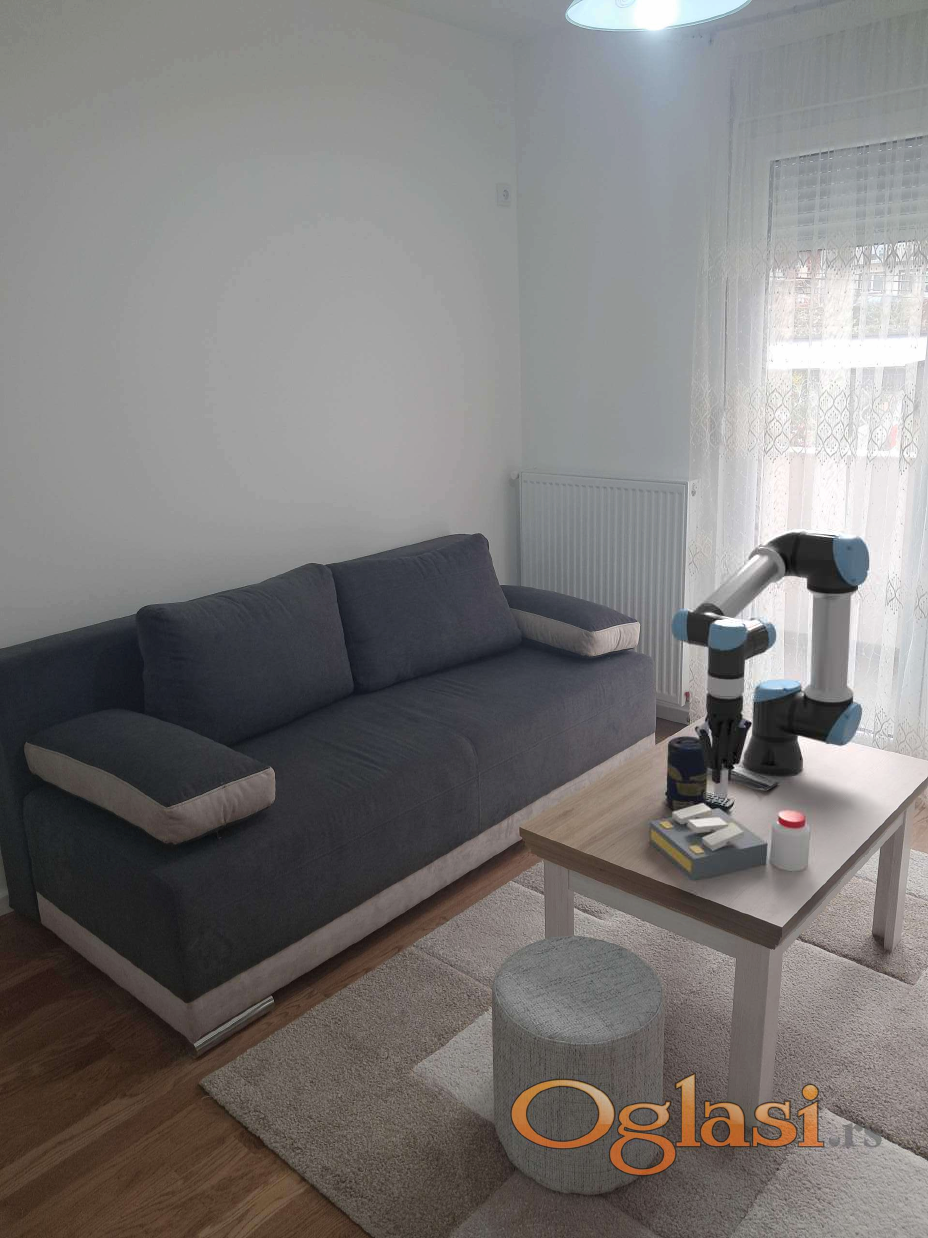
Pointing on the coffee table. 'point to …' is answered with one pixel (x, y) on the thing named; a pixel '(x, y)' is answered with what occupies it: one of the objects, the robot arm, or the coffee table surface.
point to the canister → (685, 773)
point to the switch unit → (706, 848)
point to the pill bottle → (790, 841)
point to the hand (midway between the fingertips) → (720, 795)
